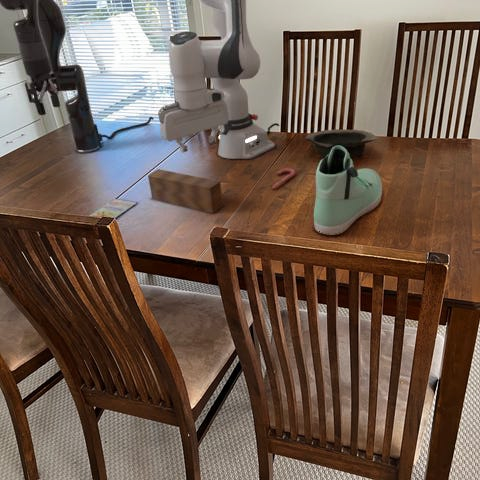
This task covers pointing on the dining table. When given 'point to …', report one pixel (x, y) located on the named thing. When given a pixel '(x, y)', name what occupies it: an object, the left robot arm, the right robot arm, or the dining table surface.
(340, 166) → the sneaker
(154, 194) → the bar
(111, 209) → the baking ingredient package
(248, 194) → the dining table surface
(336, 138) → the stone bowl
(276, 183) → the candy cane
